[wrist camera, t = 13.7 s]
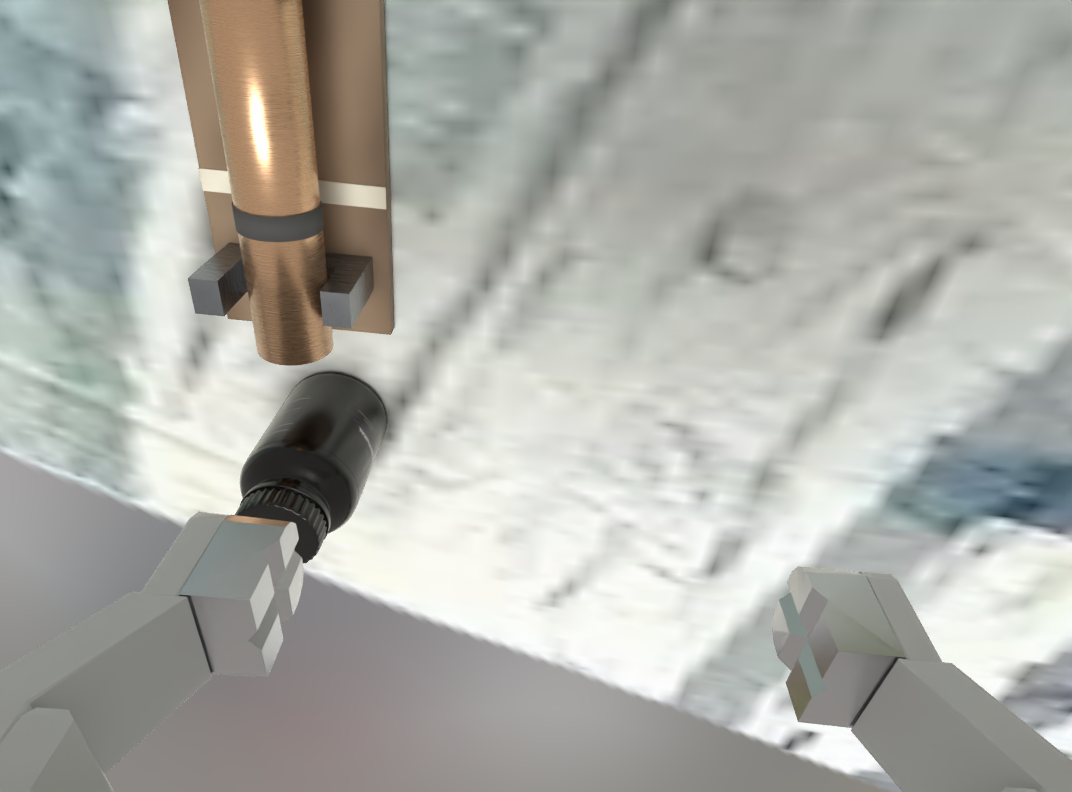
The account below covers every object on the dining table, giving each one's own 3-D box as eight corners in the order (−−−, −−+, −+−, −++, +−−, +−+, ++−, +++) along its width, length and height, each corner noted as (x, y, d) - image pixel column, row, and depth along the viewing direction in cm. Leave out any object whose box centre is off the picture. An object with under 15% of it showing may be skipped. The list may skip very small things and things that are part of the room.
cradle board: (378, -170, 28) (372, -174, 27) (394, 327, 41) (390, 335, 41) (142, -198, 28) (128, -203, 27) (234, 311, 41) (227, 319, 40)
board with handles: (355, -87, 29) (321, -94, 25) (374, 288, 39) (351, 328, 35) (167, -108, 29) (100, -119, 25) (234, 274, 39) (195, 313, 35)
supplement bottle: (409, 414, 45) (366, 544, 35) (347, 465, 48) (291, 598, 38) (329, 349, 43) (258, 470, 33) (269, 406, 45) (186, 534, 35)
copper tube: (173, -171, 25) (161, -184, 22) (287, -154, 27) (290, -164, 23) (256, 331, 38) (255, 369, 34) (331, 326, 39) (337, 362, 36)
